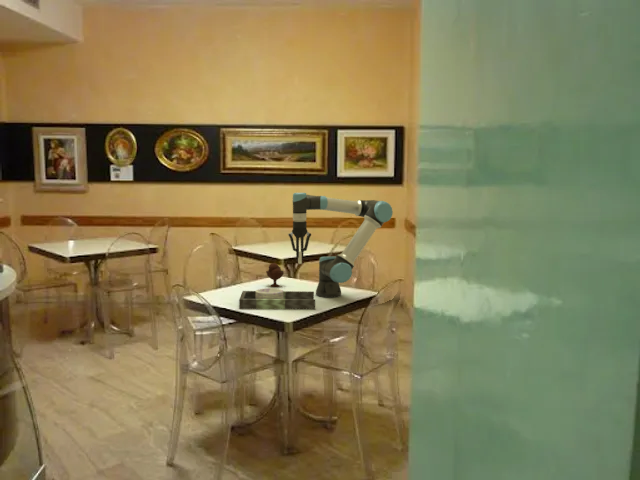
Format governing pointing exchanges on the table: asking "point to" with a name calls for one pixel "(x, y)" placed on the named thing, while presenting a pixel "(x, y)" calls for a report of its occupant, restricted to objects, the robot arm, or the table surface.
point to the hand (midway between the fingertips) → (299, 263)
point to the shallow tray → (278, 301)
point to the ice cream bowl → (274, 273)
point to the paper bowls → (269, 293)
